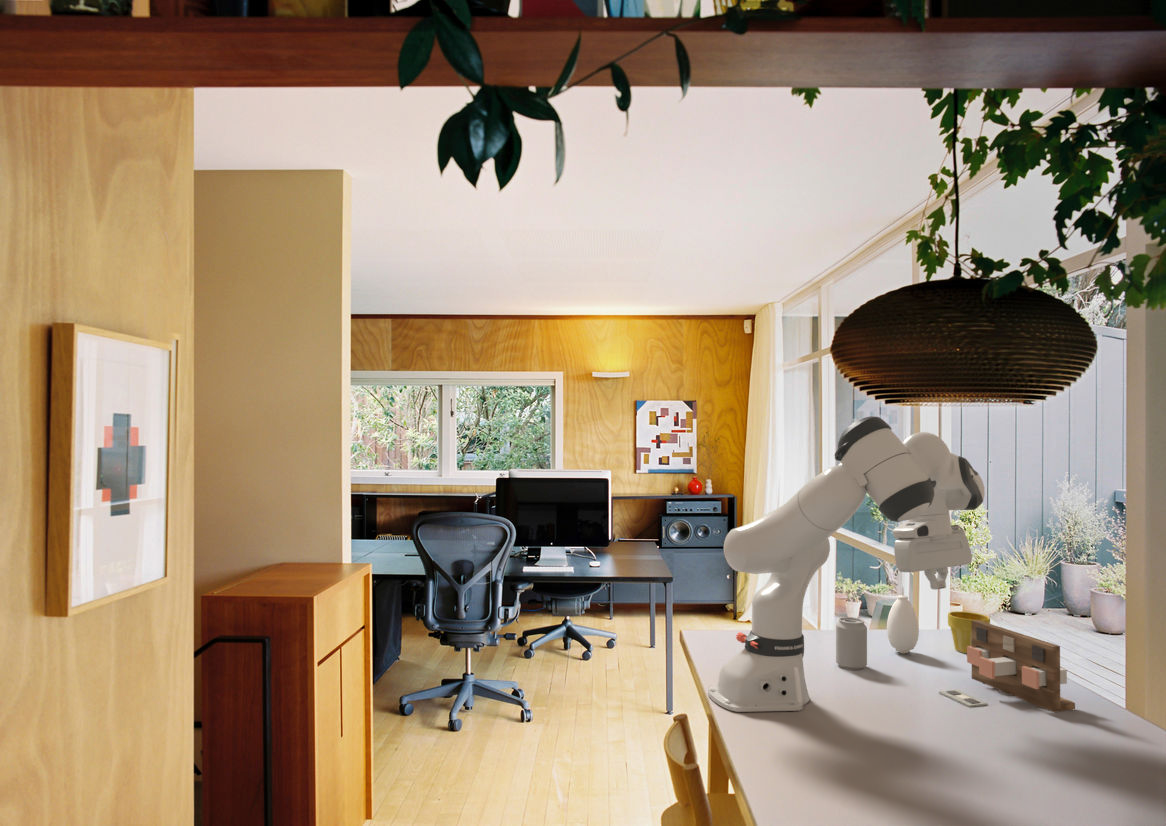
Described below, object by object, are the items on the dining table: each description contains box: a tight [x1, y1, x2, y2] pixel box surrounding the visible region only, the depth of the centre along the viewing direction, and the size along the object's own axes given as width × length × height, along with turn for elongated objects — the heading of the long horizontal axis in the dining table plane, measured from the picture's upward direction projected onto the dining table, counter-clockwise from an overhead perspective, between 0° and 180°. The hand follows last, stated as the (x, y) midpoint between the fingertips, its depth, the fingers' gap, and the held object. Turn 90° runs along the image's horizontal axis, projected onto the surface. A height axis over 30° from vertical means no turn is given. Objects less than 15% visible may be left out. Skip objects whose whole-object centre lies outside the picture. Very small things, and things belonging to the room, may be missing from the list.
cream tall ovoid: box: [886, 586, 920, 655], centre depth 207 cm, size 8×8×18 cm
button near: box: [1022, 666, 1068, 689], centre depth 168 cm, size 9×4×4 cm, turn 106°
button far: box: [966, 646, 989, 667], centre depth 183 cm, size 9×4×4 cm, turn 106°
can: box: [835, 616, 868, 671], centre depth 195 cm, size 8×8×12 cm
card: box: [938, 689, 989, 708], centre depth 171 cm, size 5×9×1 cm, turn 16°
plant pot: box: [947, 610, 991, 654], centre depth 209 cm, size 10×10×10 cm
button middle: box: [979, 657, 1017, 679], centre depth 174 cm, size 9×4×4 cm, turn 106°
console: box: [971, 620, 1076, 713], centre depth 176 cm, size 6×23×14 cm, turn 16°
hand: (938, 588), depth 173 cm, fingers closed
